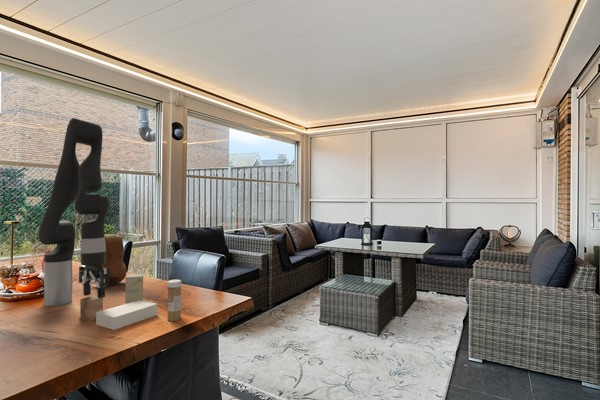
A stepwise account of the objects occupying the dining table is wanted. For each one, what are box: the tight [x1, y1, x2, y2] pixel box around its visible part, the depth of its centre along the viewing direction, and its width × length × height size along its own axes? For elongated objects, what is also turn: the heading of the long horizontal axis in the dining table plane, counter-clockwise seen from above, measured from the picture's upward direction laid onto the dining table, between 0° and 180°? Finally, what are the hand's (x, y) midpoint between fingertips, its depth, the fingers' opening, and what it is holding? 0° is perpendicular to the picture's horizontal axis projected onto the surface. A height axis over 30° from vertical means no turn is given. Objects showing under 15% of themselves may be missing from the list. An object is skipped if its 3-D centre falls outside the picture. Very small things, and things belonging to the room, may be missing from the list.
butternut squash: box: [102, 233, 127, 286], centre depth 164 cm, size 14×13×25 cm
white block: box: [95, 300, 158, 331], centre depth 116 cm, size 10×16×4 cm, turn 151°
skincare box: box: [124, 273, 144, 304], centre depth 130 cm, size 6×4×12 cm
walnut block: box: [79, 295, 104, 322], centre depth 117 cm, size 5×5×7 cm
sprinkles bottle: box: [166, 279, 182, 322], centre depth 116 cm, size 5×5×14 cm
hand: (94, 296), depth 118 cm, fingers open, 8 cm apart
